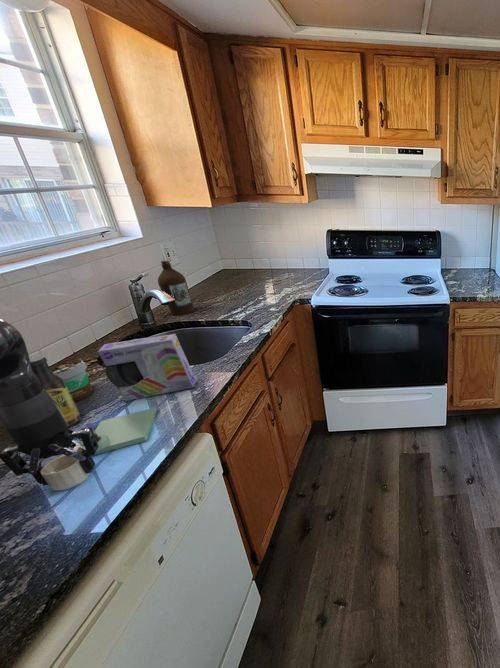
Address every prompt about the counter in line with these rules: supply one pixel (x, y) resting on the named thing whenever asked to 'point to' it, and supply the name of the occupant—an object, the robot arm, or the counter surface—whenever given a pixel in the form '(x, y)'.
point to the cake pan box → (147, 366)
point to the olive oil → (175, 289)
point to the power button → (96, 437)
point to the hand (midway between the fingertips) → (69, 476)
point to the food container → (75, 380)
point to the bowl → (63, 473)
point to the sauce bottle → (55, 389)
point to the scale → (124, 430)
